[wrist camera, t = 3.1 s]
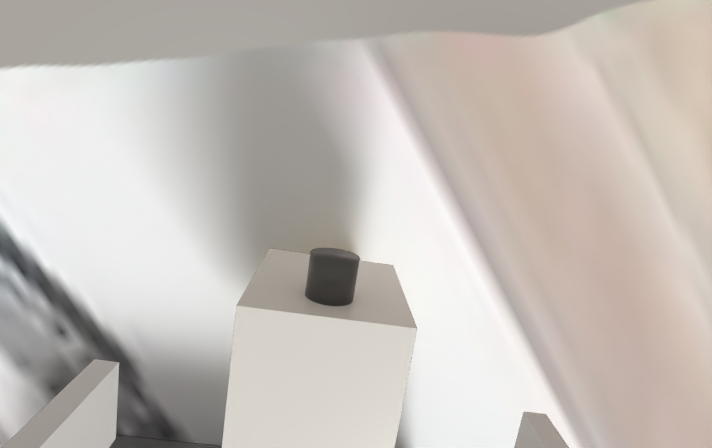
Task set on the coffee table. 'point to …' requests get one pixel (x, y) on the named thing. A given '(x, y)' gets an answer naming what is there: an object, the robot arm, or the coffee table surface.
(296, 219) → the coffee table surface
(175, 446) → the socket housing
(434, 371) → the coffee table surface
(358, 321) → the plug
